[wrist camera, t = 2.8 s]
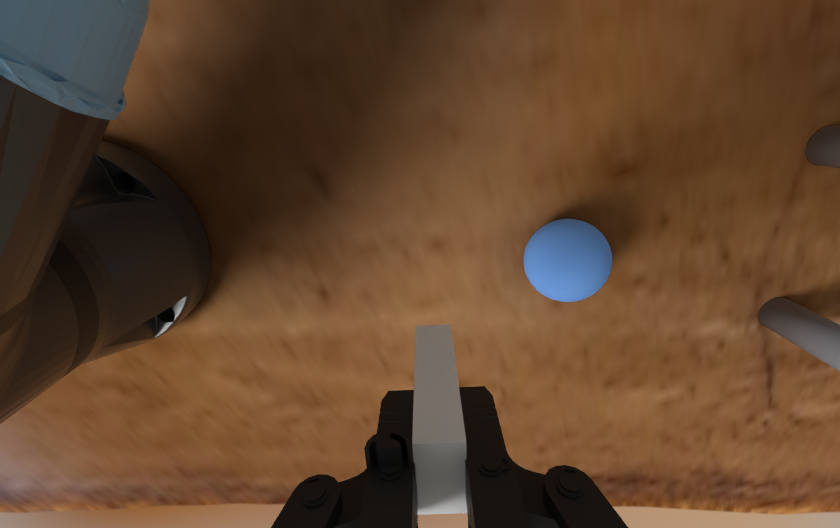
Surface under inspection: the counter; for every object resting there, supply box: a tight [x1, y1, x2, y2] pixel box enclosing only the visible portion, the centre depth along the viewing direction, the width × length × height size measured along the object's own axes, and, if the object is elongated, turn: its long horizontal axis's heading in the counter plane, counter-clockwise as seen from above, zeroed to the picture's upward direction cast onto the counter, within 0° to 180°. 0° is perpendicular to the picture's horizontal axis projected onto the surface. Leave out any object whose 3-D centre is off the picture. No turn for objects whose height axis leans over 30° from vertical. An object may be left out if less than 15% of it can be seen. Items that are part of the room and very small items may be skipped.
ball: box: [524, 219, 612, 302], centre depth 26 cm, size 6×6×6 cm
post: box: [758, 298, 840, 371], centre depth 27 cm, size 3×3×9 cm
